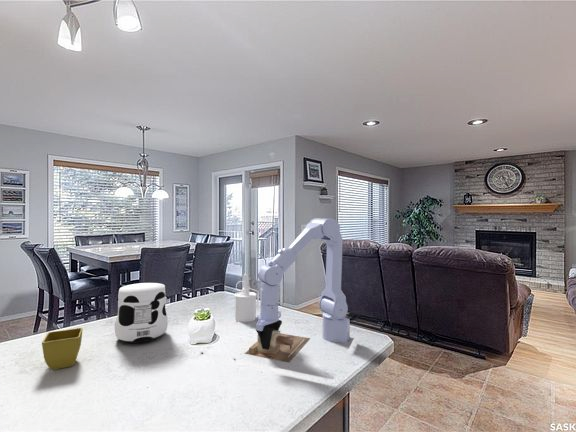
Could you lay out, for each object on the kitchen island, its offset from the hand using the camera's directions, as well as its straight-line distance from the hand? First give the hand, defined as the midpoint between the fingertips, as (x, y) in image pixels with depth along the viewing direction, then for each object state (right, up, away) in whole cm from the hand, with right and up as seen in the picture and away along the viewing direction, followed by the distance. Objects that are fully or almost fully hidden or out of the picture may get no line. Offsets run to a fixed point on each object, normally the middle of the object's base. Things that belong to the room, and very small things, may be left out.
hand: (268, 346), depth 101 cm
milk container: (-46, -3, +13) cm, 48 cm away
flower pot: (-59, -2, -8) cm, 60 cm away
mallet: (+2, -1, -1) cm, 3 cm away
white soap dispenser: (-11, -3, +31) cm, 33 cm away
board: (+3, -3, +4) cm, 6 cm away
